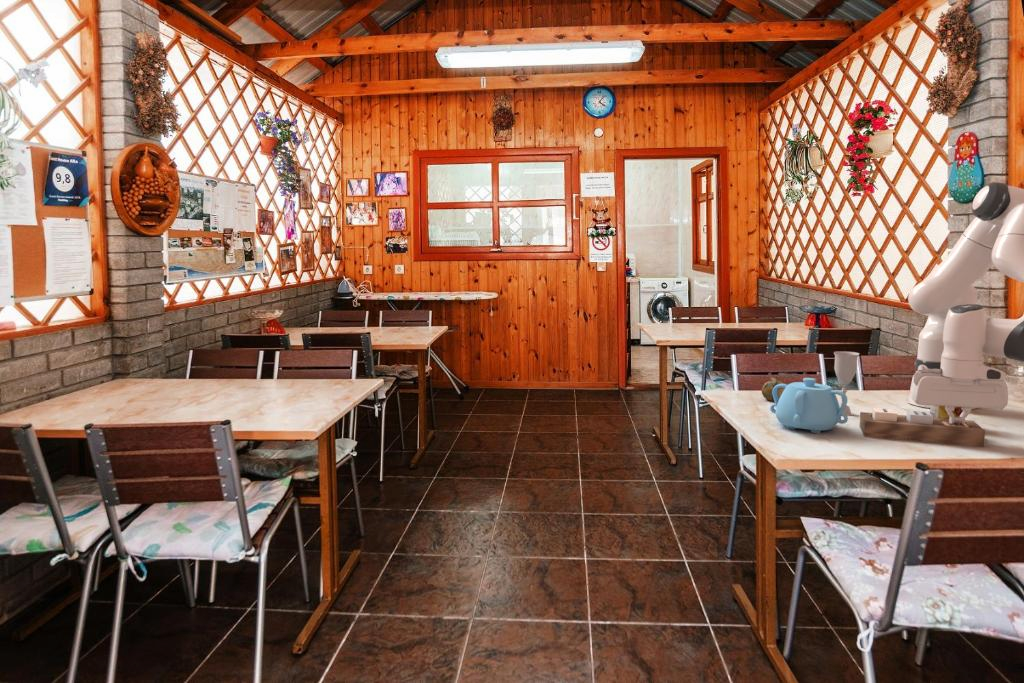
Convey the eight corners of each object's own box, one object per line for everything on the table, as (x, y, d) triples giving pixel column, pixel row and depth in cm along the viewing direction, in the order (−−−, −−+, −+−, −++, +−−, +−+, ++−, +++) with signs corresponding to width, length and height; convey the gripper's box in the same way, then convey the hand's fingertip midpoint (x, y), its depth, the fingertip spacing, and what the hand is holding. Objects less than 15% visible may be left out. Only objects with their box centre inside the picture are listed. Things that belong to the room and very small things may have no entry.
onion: (791, 403, 211) (792, 378, 210) (766, 403, 211) (767, 378, 210) (782, 398, 218) (783, 374, 217) (757, 398, 219) (758, 374, 218)
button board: (864, 436, 172) (865, 421, 172) (859, 426, 182) (860, 411, 182) (983, 447, 163) (985, 431, 162) (971, 435, 173) (973, 420, 172)
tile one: (874, 422, 174) (875, 411, 173) (872, 418, 178) (872, 407, 178) (896, 424, 172) (897, 413, 171) (893, 419, 176) (894, 408, 176)
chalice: (858, 416, 193) (863, 355, 191) (833, 415, 194) (837, 354, 192) (851, 411, 200) (855, 351, 198) (827, 410, 201) (830, 351, 199)
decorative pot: (825, 421, 189) (827, 373, 187) (851, 435, 173) (854, 384, 171) (766, 420, 189) (768, 373, 188) (787, 435, 173) (790, 383, 172)
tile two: (909, 425, 171) (910, 414, 170) (906, 420, 175) (907, 409, 175) (932, 427, 169) (933, 415, 168) (928, 422, 173) (929, 411, 173)
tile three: (945, 436, 168) (946, 425, 168) (940, 431, 173) (941, 420, 172) (968, 438, 166) (969, 427, 166) (963, 433, 171) (964, 422, 170)
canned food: (969, 429, 179) (973, 385, 178) (940, 429, 180) (943, 385, 178) (951, 422, 187) (954, 379, 186) (922, 421, 187) (926, 379, 186)
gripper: (918, 369, 167) (914, 424, 168) (1013, 373, 161) (1008, 429, 163) (910, 366, 173) (906, 418, 175) (1002, 369, 167) (997, 423, 169)
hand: (956, 423), depth 169 cm, fingers closed
